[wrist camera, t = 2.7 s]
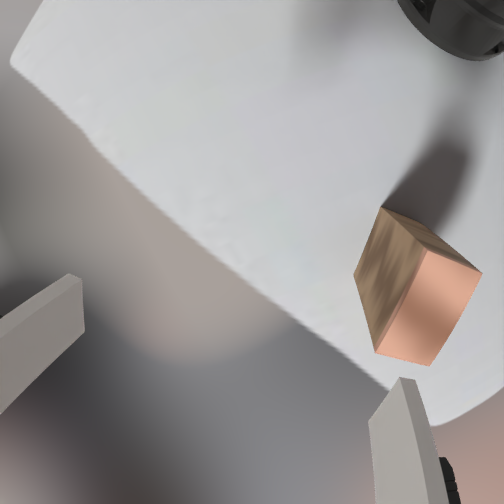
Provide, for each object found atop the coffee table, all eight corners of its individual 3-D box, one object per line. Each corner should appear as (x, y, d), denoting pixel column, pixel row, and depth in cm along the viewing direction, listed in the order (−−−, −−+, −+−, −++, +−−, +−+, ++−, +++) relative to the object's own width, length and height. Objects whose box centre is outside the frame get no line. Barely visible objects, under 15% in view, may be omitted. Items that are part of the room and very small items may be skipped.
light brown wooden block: (380, 206, 30) (427, 250, 17) (420, 222, 29) (482, 273, 16) (353, 274, 33) (375, 353, 20) (392, 288, 32) (429, 366, 19)
